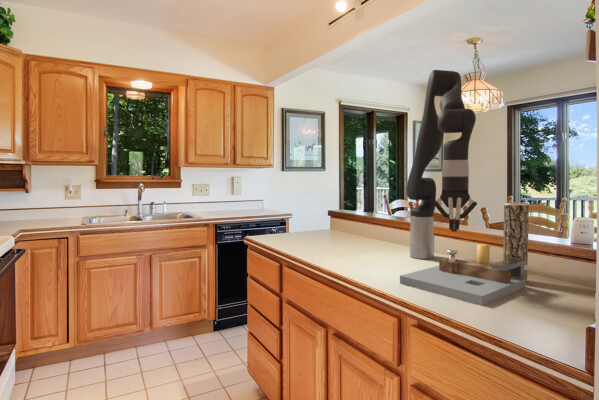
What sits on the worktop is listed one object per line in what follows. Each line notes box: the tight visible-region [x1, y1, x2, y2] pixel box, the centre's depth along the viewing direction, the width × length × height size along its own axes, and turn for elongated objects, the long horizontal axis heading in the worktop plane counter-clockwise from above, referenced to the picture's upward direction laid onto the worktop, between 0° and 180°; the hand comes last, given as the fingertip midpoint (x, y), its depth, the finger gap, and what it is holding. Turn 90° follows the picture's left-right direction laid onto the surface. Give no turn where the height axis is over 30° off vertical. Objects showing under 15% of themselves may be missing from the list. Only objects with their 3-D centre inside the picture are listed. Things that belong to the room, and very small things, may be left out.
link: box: [438, 257, 511, 283], centre depth 116 cm, size 21×6×4 cm, turn 37°
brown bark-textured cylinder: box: [502, 201, 530, 283], centre depth 118 cm, size 7×7×25 cm
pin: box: [476, 243, 491, 266], centre depth 118 cm, size 4×4×9 cm
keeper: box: [490, 258, 524, 281], centre depth 108 cm, size 12×4×8 cm, turn 127°
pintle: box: [446, 249, 458, 262], centre depth 121 cm, size 3×3×9 cm
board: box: [399, 265, 526, 306], centre depth 114 cm, size 26×26×2 cm
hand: (454, 231), depth 114 cm, fingers closed
